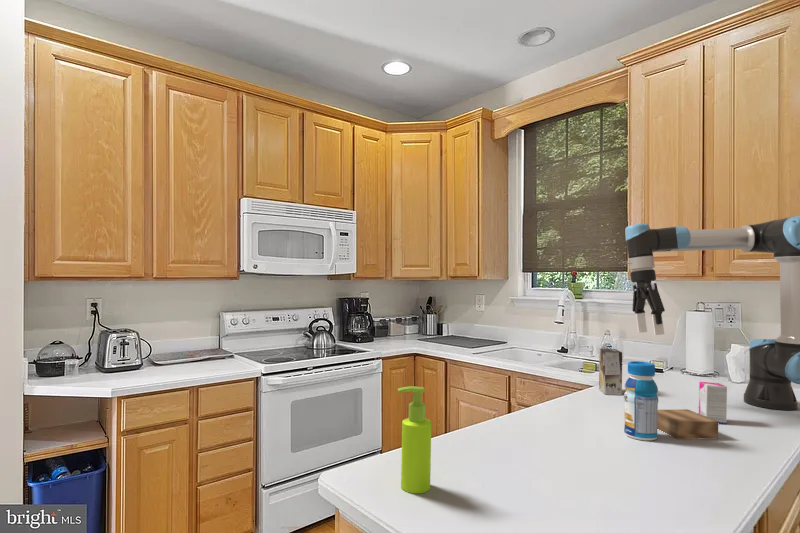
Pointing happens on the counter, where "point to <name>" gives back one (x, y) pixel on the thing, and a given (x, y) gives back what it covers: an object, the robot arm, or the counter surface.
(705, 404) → the supplement box
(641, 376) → the beverage bottle
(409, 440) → the soap dispenser
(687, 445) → the counter surface
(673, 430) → the oak riser block
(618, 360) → the coffee box
